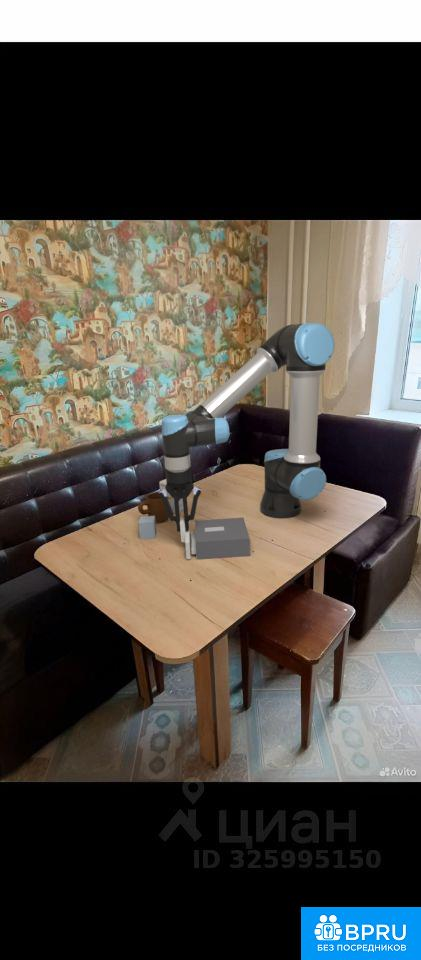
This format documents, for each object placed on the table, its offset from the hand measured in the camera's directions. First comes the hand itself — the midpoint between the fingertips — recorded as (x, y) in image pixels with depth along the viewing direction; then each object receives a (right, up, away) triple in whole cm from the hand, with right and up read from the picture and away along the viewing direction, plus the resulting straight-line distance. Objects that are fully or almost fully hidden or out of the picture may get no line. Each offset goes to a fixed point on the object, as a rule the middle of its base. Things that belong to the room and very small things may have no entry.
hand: (183, 540), depth 127 cm
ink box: (-6, +7, +30) cm, 32 cm away
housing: (+12, -2, +1) cm, 12 cm away
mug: (-12, +3, +21) cm, 24 cm away
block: (-13, 0, +10) cm, 16 cm away
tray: (+9, -2, +1) cm, 9 cm away
